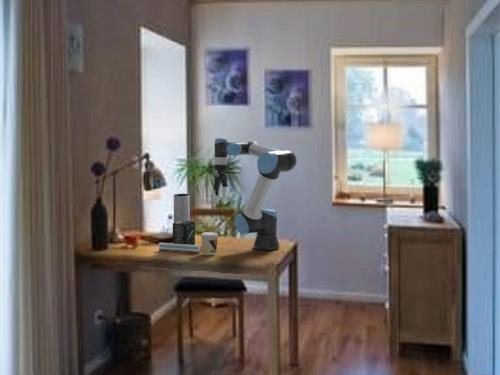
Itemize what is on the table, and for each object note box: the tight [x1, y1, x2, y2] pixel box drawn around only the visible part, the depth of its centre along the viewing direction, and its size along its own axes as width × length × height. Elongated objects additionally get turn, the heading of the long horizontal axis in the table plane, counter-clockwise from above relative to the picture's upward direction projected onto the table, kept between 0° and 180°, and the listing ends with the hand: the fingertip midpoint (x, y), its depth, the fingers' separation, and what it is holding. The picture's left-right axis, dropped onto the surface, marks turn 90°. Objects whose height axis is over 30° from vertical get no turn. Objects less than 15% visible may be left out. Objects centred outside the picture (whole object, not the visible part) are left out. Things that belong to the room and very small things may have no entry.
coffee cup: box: [200, 231, 219, 256], centre depth 371 cm, size 9×9×12 cm
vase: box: [173, 193, 191, 223], centre depth 415 cm, size 10×10×27 cm
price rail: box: [158, 242, 200, 251], centre depth 376 cm, size 24×1×3 cm, turn 75°
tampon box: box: [172, 220, 196, 245], centre depth 383 cm, size 11×9×15 cm
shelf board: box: [158, 245, 202, 254], centre depth 382 cm, size 24×14×2 cm, turn 75°
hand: (220, 199), depth 399 cm, fingers open, 13 cm apart
